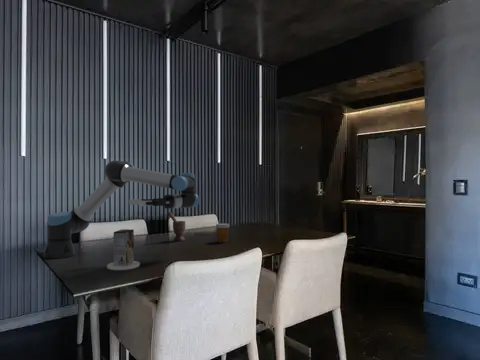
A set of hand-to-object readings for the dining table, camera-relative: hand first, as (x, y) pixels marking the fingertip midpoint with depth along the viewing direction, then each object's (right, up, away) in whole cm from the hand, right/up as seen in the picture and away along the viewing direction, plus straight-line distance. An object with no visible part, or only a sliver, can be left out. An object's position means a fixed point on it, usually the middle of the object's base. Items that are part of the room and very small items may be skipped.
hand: (133, 202), depth 176 cm
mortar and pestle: (+11, -30, +62) cm, 70 cm away
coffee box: (-2, -29, -9) cm, 31 cm away
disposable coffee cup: (+42, -30, +59) cm, 79 cm away
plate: (-2, -30, -9) cm, 31 cm away
